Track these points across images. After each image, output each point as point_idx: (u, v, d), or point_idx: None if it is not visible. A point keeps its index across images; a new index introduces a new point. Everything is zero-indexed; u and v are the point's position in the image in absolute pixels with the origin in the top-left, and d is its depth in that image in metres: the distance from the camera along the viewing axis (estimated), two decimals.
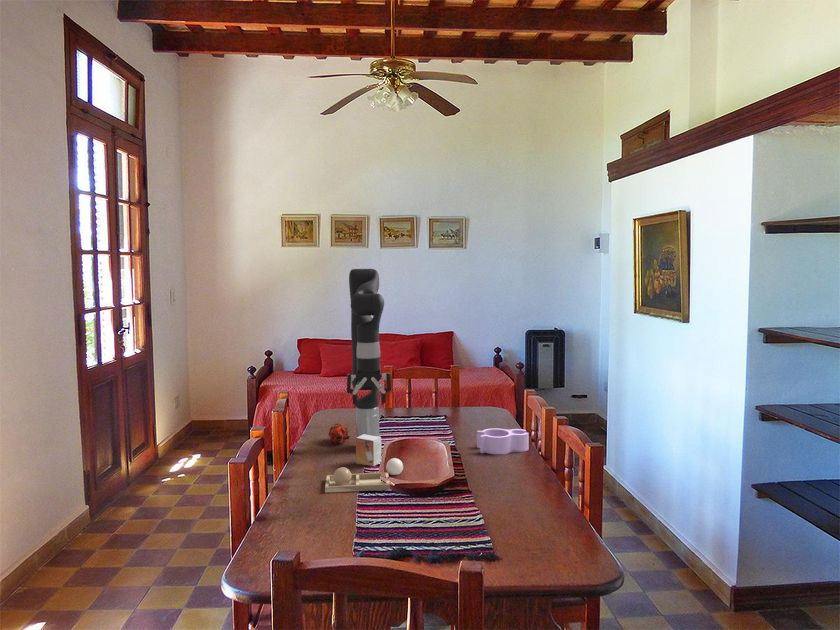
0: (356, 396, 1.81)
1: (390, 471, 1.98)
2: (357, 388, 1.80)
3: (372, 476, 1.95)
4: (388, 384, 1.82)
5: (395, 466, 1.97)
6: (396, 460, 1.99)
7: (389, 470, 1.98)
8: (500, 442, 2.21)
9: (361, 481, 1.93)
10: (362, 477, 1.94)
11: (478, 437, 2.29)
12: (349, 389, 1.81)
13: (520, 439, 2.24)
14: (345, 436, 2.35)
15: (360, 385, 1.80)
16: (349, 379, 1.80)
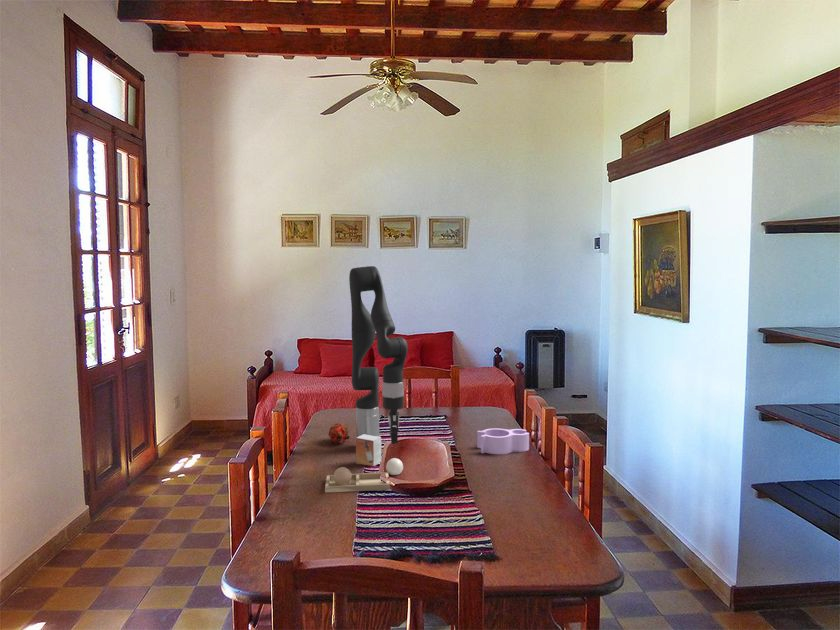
0: (397, 433, 1.95)
1: (390, 471, 1.98)
2: (398, 425, 1.95)
3: (372, 476, 1.95)
4: None
5: (395, 466, 1.97)
6: (396, 460, 1.99)
7: (389, 470, 1.98)
8: (501, 442, 2.21)
9: (361, 481, 1.93)
10: (362, 477, 1.94)
11: (478, 437, 2.29)
12: None
13: (520, 439, 2.24)
14: (345, 436, 2.35)
15: (398, 422, 1.96)
16: (397, 419, 1.92)
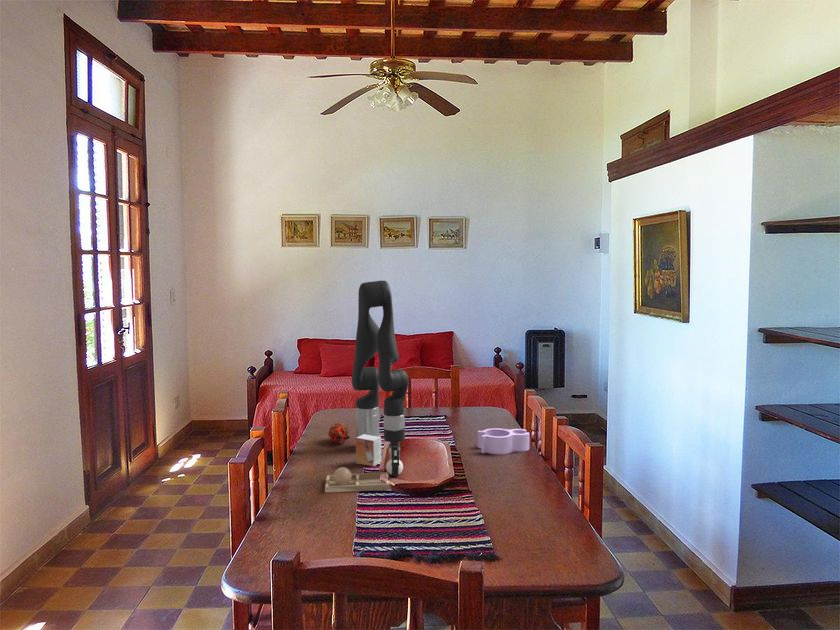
0: None
1: (390, 471, 1.98)
2: (399, 458, 1.97)
3: (372, 476, 1.95)
4: None
5: None
6: (396, 460, 1.99)
7: (389, 470, 1.98)
8: (501, 442, 2.21)
9: (361, 481, 1.93)
10: (362, 477, 1.94)
11: (479, 437, 2.29)
12: (398, 462, 1.95)
13: (521, 439, 2.24)
14: (345, 436, 2.35)
15: (399, 454, 1.97)
16: (398, 453, 1.94)
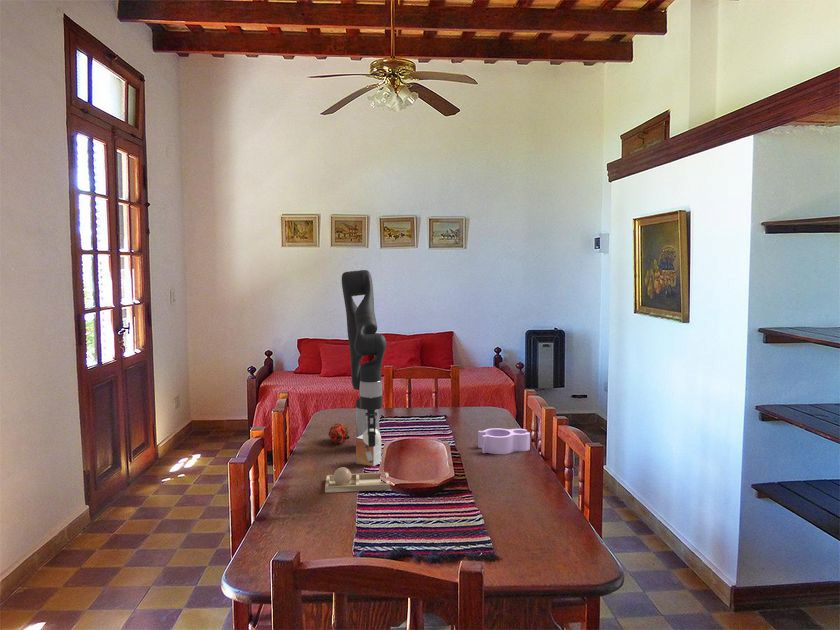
0: None
1: (366, 441, 1.87)
2: (376, 427, 1.86)
3: (372, 476, 1.95)
4: None
5: None
6: (373, 429, 1.88)
7: (365, 440, 1.87)
8: (502, 442, 2.21)
9: (361, 481, 1.93)
10: (362, 477, 1.94)
11: (479, 437, 2.29)
12: (375, 431, 1.84)
13: (522, 439, 2.24)
14: (345, 436, 2.35)
15: (376, 423, 1.86)
16: (375, 422, 1.83)
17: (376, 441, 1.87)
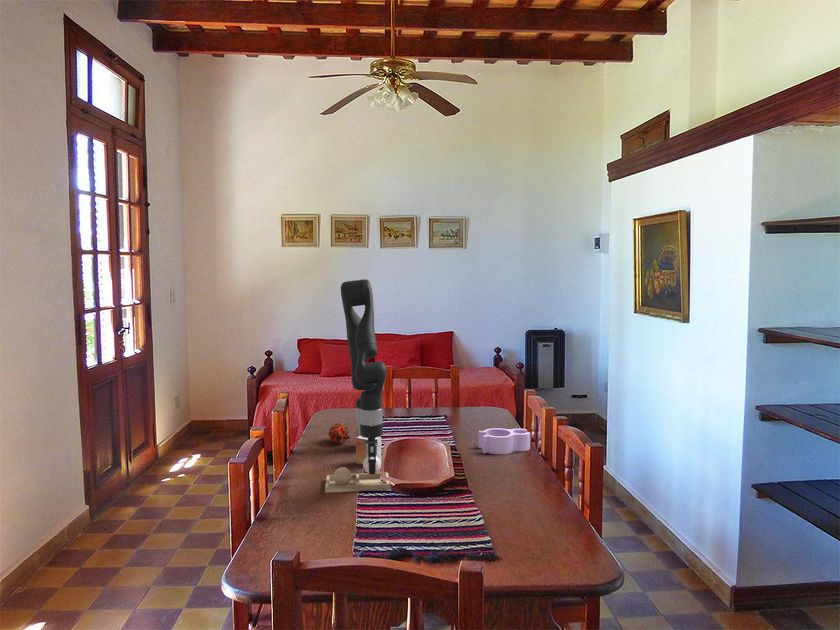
0: (375, 464, 1.87)
1: (367, 468, 1.87)
2: (376, 455, 1.87)
3: (372, 476, 1.95)
4: None
5: None
6: (373, 457, 1.89)
7: (366, 467, 1.87)
8: (503, 442, 2.21)
9: (361, 481, 1.93)
10: (362, 477, 1.94)
11: (480, 437, 2.29)
12: (375, 459, 1.84)
13: (522, 439, 2.24)
14: (345, 436, 2.35)
15: None
16: (375, 450, 1.83)
17: (376, 469, 1.88)
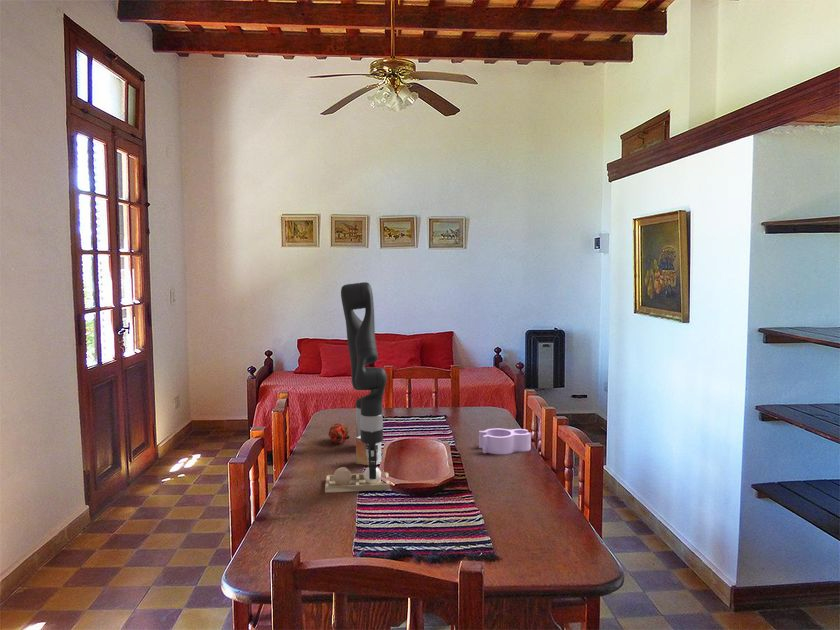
0: (375, 469, 1.86)
1: (367, 480, 1.88)
2: (377, 460, 1.86)
3: None
4: None
5: None
6: None
7: (366, 478, 1.88)
8: (503, 442, 2.21)
9: (361, 481, 1.93)
10: (362, 477, 1.94)
11: (480, 437, 2.29)
12: None
13: (522, 439, 2.24)
14: (345, 436, 2.35)
15: None
16: (376, 454, 1.83)
17: (377, 480, 1.88)
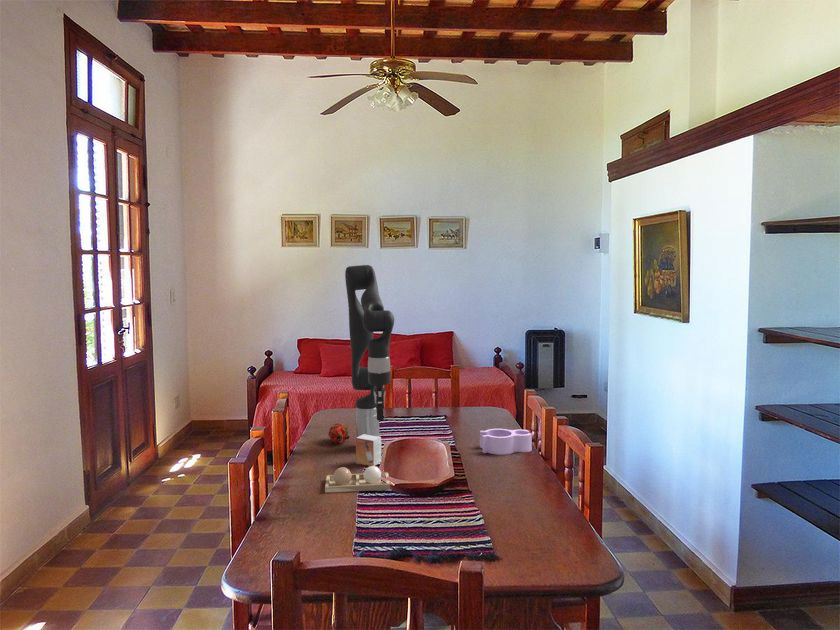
0: None
1: (367, 480, 1.88)
2: (384, 401, 1.88)
3: None
4: None
5: (373, 474, 1.87)
6: (374, 468, 1.89)
7: (366, 479, 1.88)
8: (502, 442, 2.20)
9: (361, 481, 1.93)
10: (362, 477, 1.94)
11: (481, 437, 2.29)
12: (383, 405, 1.85)
13: (523, 440, 2.23)
14: (345, 436, 2.35)
15: (384, 398, 1.89)
16: (383, 395, 1.85)
17: (377, 480, 1.88)
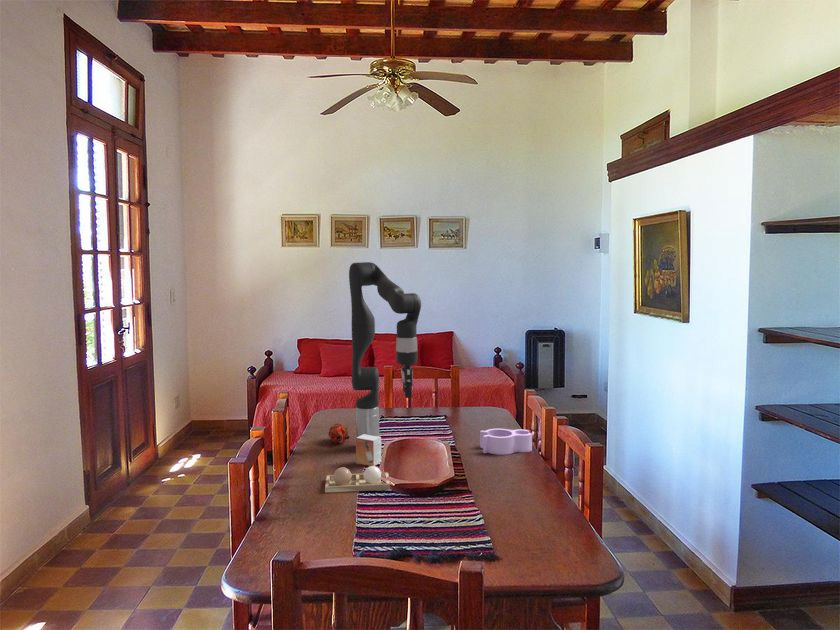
0: None
1: (367, 480, 1.88)
2: (412, 380, 1.97)
3: None
4: None
5: (373, 474, 1.87)
6: (374, 468, 1.89)
7: (366, 479, 1.88)
8: (503, 442, 2.20)
9: (361, 481, 1.93)
10: (362, 477, 1.94)
11: (481, 437, 2.29)
12: None
13: (523, 439, 2.23)
14: (345, 436, 2.35)
15: (412, 377, 1.98)
16: (411, 373, 1.94)
17: (377, 480, 1.88)
